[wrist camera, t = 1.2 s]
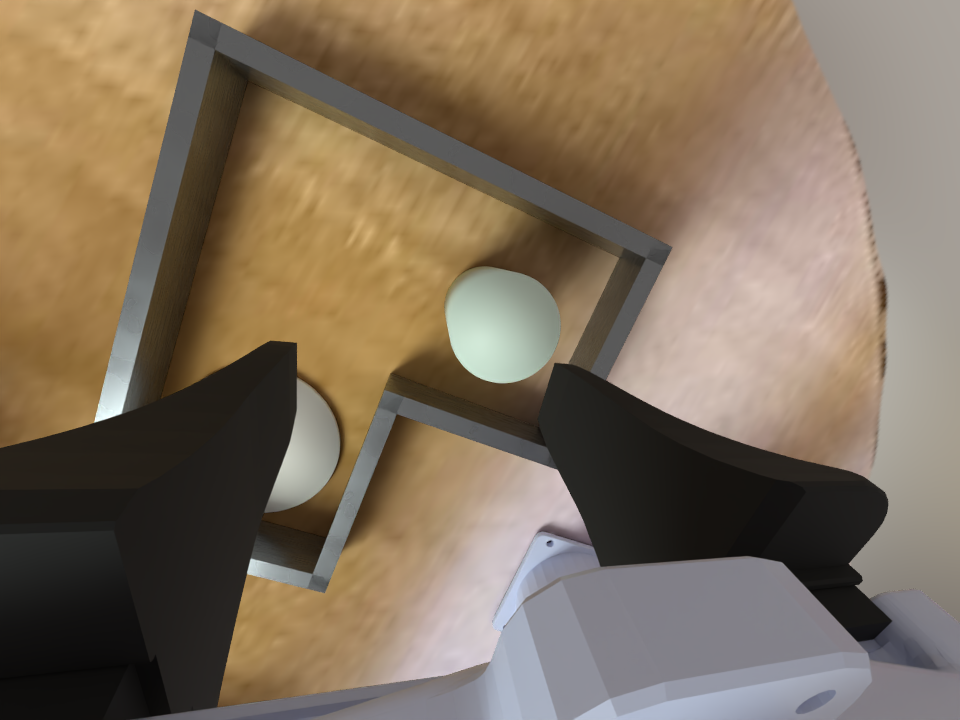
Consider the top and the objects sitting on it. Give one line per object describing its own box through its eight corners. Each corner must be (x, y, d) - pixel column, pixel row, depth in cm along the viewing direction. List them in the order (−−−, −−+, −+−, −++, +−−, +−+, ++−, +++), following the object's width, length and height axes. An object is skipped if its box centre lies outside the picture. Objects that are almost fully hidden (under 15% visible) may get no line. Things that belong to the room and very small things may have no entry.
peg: (536, 285, 23) (579, 298, 16) (504, 357, 24) (532, 398, 17) (463, 253, 22) (475, 252, 16) (432, 328, 23) (432, 360, 16)
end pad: (361, 398, 24) (360, 399, 23) (312, 527, 25) (311, 530, 25) (197, 341, 22) (194, 342, 22) (156, 483, 24) (153, 486, 23)
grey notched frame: (642, 247, 23) (672, 247, 20) (474, 592, 28) (479, 631, 25) (231, 46, 19) (195, 9, 16) (113, 495, 23) (68, 529, 21)
